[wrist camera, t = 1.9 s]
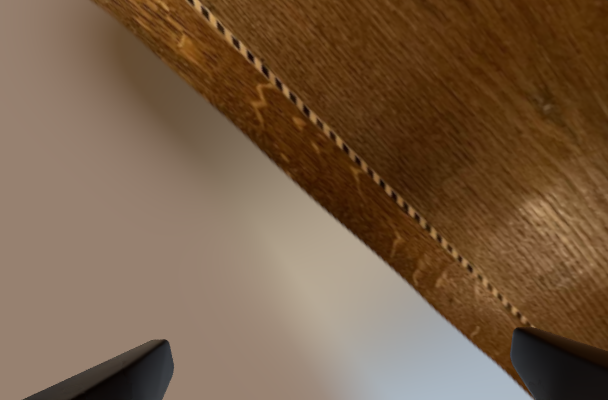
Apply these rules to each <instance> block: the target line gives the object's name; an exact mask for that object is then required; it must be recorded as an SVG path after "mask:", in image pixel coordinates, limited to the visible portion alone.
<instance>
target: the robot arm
mask: <svg viewBox="0 0 608 400" xmlns="http://www.w3.org/2000/svg"><path fill="white" fill-rule="evenodd" d="M510 356H511V361H512V364H513V366H514V368H515V369H516V371H517V372H518V374H519V376H520V377H521V379H522V380H523V382H524V383H525V385H526V386H527V388H528V389H529V391H530V392H531V394H532V395H533V397H534V398H535V400H608V351H605V350H602V349H599V348H596V347H593V346H590V345H587V344H584V343H580V342H577V341H574V340H571V339H568V338H565V337H562V336H559V335H555V334H552V333H549V332H546V331H543V330H540V329H537V328H533V327H518V328H516V329H514V331H513V337H512V345H511V353H510ZM173 370H174V363H173V358H172V354H171V349H170V345H169V342H168V341H167V340H165V339H163V340H151V341H149V342H147V343H145V344H142V345H140V346H138V347H136V348H134V349H131V350H129V351H127V352H125V353H123V354H121V355H118V356H116V357H114V358H112V359H110V360H108V361H106V362H104V363H101V364H99V365H97V366H95V367H93V368H90V369H88V370H86V371H84V372H82V373H80V374H77V375H75V376H73V377H71V378H69V379H66V380H64V381H62V382H60V383H58V384H56V385H53V386H51V387H49V388H47V389H45V390H43V391H40V392H38V393H36V394H34V395H32V396H30V397H27V398H25V399H23V400H162V399H163V397H164V394H165V392H166V390H167V387H168V385H169V382H170V380H171V378H172V375H173Z"/></svg>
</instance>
